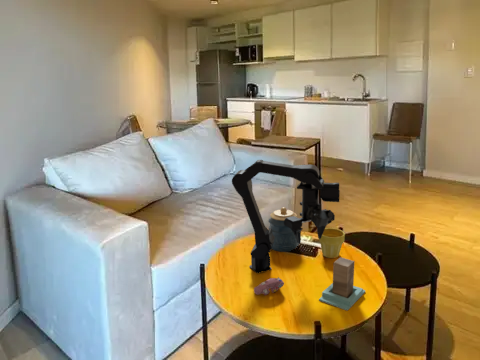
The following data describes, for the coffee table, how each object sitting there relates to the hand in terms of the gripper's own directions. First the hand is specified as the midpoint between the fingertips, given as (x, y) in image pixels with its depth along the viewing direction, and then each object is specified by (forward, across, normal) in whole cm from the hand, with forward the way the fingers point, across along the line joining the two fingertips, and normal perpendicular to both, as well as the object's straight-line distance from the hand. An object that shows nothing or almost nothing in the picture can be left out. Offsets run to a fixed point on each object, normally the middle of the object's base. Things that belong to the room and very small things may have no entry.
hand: (309, 240), depth 153 cm
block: (+12, 0, -19) cm, 23 cm away
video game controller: (+13, -20, -5) cm, 25 cm away
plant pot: (+13, +17, +8) cm, 23 cm away
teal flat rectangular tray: (+13, 0, -19) cm, 23 cm away
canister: (+13, +5, +25) cm, 29 cm away
